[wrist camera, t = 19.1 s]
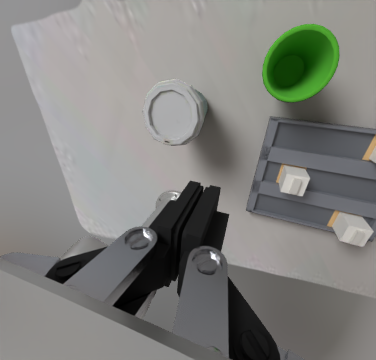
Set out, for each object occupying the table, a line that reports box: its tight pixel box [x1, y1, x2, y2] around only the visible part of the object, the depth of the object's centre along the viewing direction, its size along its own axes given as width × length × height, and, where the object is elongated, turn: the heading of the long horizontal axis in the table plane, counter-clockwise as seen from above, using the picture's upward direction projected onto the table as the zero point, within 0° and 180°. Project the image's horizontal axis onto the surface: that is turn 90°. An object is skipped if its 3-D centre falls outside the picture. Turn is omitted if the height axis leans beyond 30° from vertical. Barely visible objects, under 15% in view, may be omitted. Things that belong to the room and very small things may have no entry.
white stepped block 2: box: [332, 212, 374, 247], centre depth 39 cm, size 4×4×6 cm
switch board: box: [246, 116, 376, 241], centre depth 40 cm, size 22×26×2 cm
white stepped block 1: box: [278, 165, 310, 196], centre depth 38 cm, size 4×4×6 cm
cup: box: [262, 24, 339, 102], centre depth 30 cm, size 9×9×11 cm
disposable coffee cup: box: [143, 79, 208, 146], centre depth 36 cm, size 11×11×15 cm
